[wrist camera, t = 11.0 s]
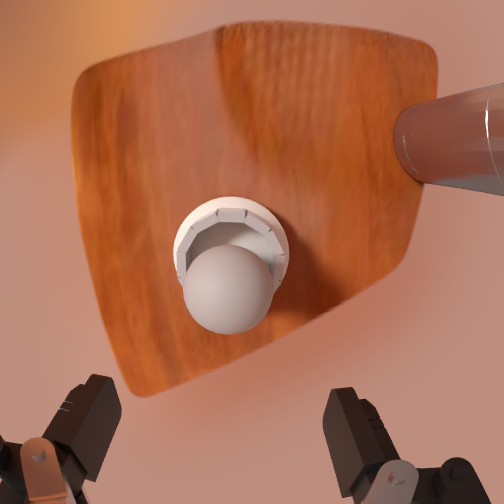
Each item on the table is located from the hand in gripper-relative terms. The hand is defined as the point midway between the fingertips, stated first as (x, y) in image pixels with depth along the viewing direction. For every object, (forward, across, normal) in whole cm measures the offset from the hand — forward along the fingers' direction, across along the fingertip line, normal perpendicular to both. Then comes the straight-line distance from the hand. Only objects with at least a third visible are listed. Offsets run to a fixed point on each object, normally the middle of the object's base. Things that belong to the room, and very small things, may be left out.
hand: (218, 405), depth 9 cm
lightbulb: (+19, 0, 0) cm, 19 cm away
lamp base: (+21, 0, 0) cm, 21 cm away
